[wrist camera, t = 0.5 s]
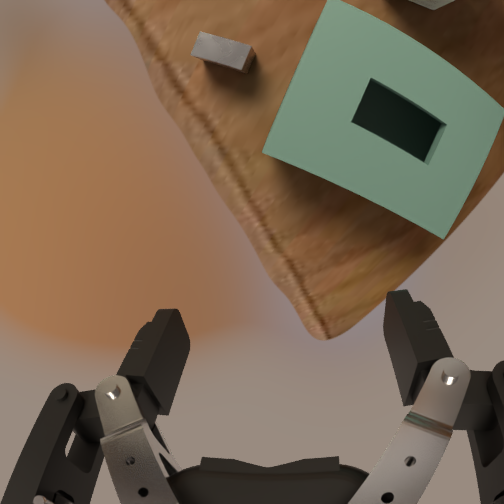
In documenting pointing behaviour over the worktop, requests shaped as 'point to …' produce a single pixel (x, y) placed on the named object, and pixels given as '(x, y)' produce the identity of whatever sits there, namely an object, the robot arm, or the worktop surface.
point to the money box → (385, 119)
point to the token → (223, 52)
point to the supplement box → (432, 3)
